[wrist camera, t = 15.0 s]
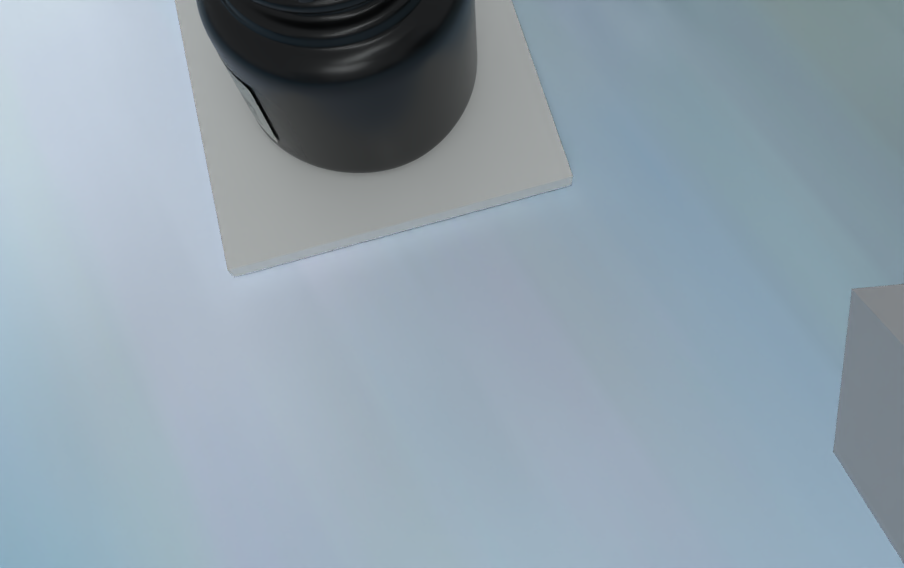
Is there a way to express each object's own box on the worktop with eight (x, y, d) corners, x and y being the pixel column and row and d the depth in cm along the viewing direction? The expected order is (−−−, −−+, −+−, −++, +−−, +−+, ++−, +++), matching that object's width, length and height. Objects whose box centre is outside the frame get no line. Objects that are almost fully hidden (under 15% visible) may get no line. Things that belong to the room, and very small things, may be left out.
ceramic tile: (477, -85, 35) (476, -100, 34) (571, 185, 31) (573, 176, 30) (178, -7, 35) (171, -19, 34) (234, 277, 31) (227, 270, 30)
